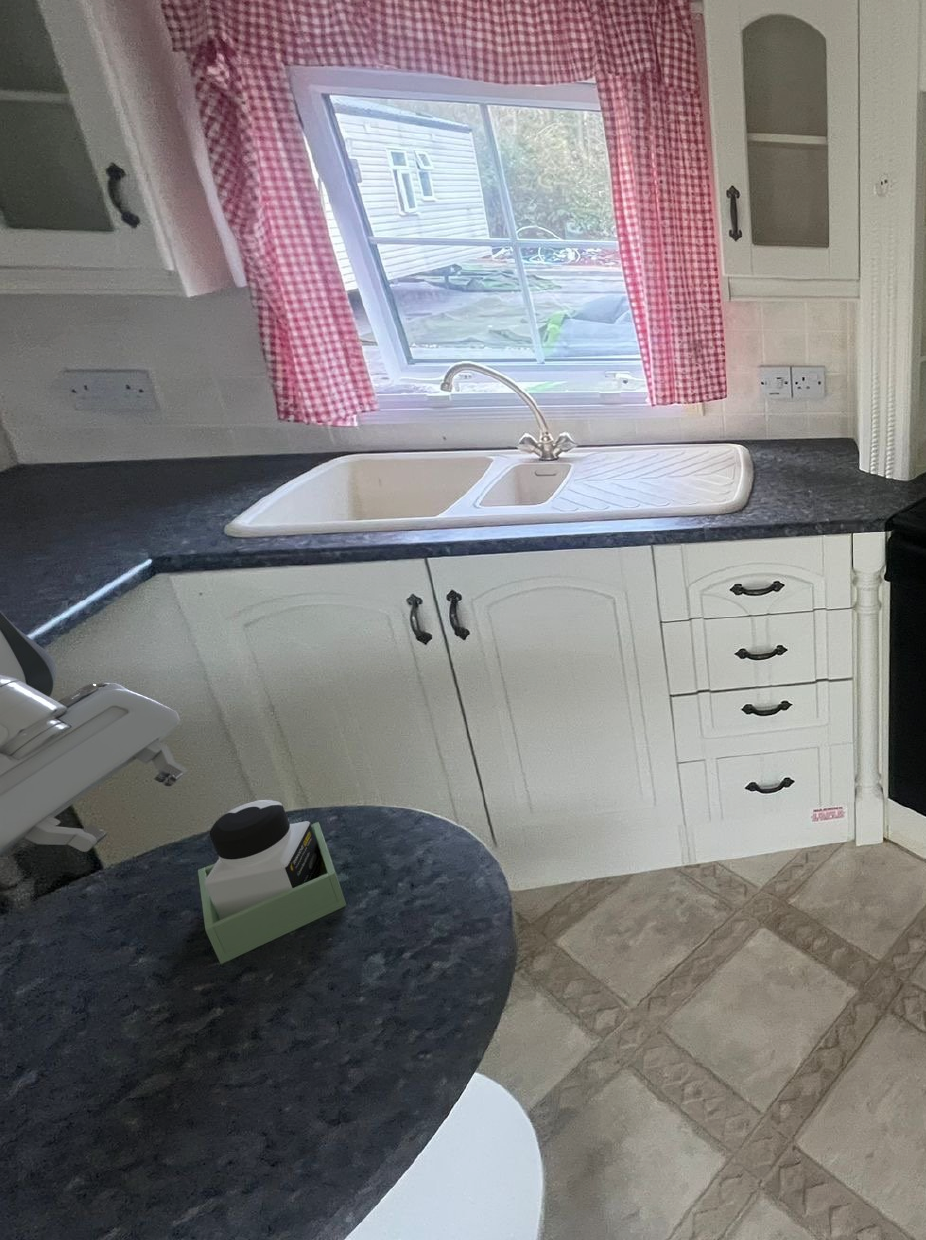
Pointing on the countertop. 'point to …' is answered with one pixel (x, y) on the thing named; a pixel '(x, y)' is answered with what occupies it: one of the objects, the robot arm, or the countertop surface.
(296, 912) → the tub
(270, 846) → the medicine bottle
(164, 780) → the robot arm
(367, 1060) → the countertop surface
